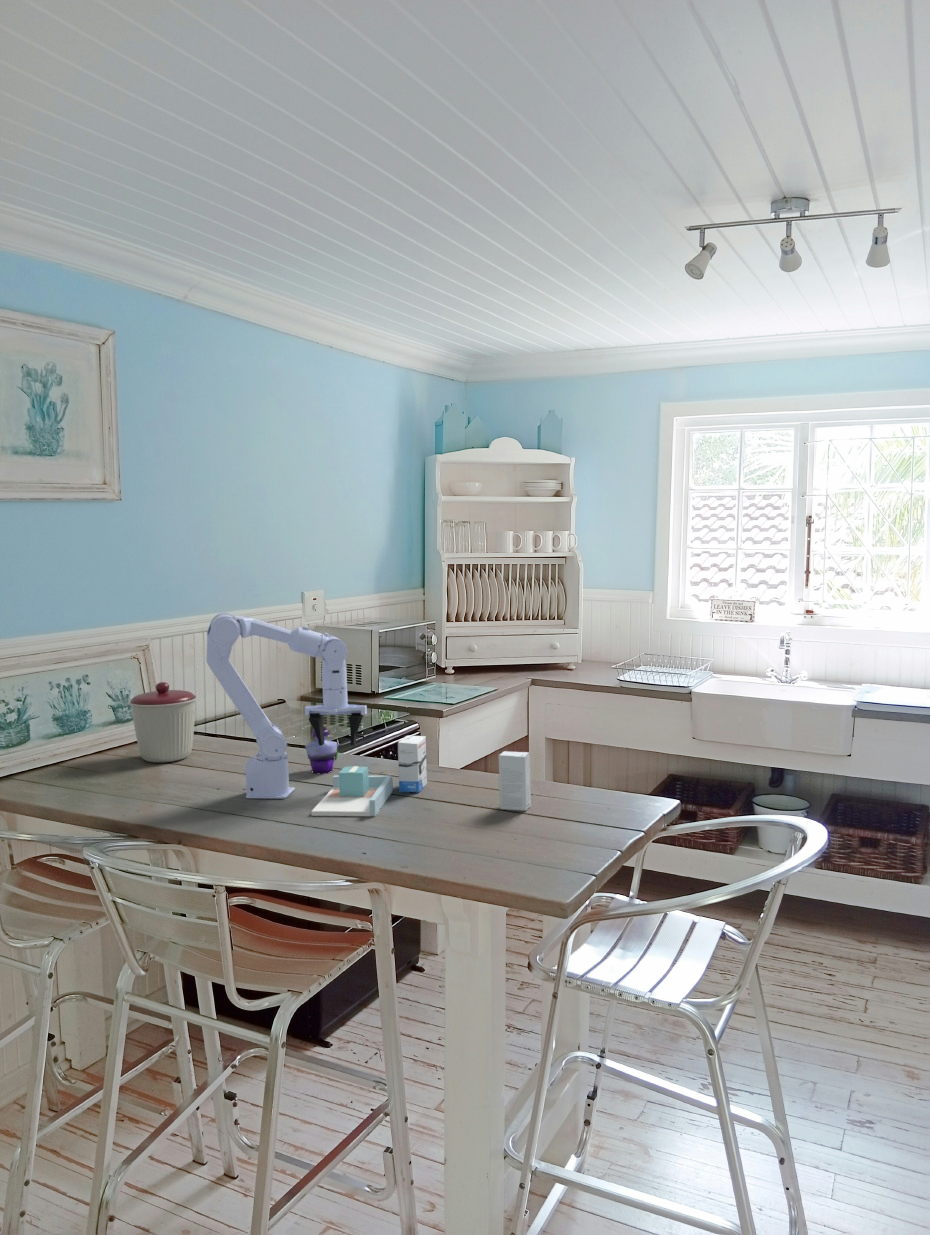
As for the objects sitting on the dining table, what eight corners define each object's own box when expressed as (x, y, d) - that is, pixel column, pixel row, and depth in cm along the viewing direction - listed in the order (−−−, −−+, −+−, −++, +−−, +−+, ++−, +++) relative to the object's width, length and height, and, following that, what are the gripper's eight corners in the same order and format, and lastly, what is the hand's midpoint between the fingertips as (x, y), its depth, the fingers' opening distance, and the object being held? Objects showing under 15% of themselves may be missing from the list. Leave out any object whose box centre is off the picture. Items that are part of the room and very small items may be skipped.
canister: (173, 747, 277) (168, 675, 275) (214, 755, 266) (210, 679, 264) (117, 761, 262) (112, 684, 260) (159, 770, 252) (154, 690, 249)
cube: (345, 789, 224) (344, 766, 224) (368, 790, 224) (368, 766, 223) (339, 796, 219) (338, 772, 218) (363, 796, 218) (362, 772, 218)
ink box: (419, 793, 223) (417, 743, 222) (398, 792, 224) (396, 742, 223) (427, 783, 232) (426, 735, 230) (407, 783, 233) (406, 734, 231)
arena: (311, 815, 208) (310, 799, 208) (334, 789, 228) (333, 775, 228) (375, 816, 207) (374, 800, 206) (393, 790, 226) (392, 775, 226)
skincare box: (531, 805, 211) (530, 752, 210) (526, 811, 207) (525, 756, 206) (504, 803, 213) (503, 750, 212) (499, 809, 209) (497, 755, 208)
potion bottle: (345, 771, 245) (343, 725, 243) (314, 777, 240) (312, 730, 239) (330, 765, 252) (328, 719, 251) (299, 770, 247) (297, 724, 246)
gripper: (300, 691, 225) (302, 748, 226) (361, 690, 223) (363, 748, 224) (308, 686, 232) (311, 741, 233) (367, 685, 230) (370, 741, 231)
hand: (337, 744), depth 229 cm, fingers open, 7 cm apart
